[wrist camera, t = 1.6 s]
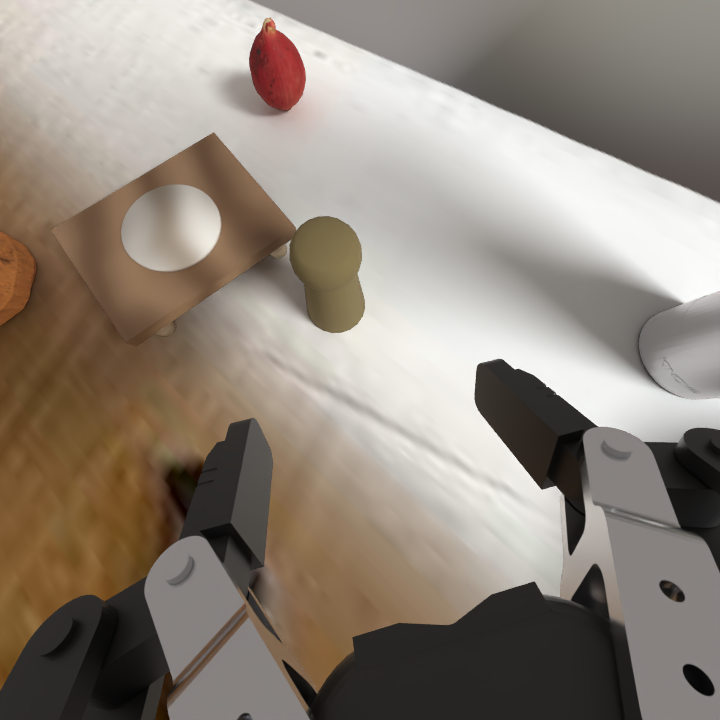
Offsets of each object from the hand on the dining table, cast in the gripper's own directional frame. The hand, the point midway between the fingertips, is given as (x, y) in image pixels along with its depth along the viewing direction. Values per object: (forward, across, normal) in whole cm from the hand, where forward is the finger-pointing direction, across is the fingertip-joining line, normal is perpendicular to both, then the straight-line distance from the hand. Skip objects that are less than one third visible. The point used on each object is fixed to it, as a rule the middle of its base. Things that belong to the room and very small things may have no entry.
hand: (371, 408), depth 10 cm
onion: (+39, 0, -15) cm, 42 cm away
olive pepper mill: (+21, 0, +4) cm, 21 cm away
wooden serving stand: (+27, +13, -3) cm, 30 cm away
